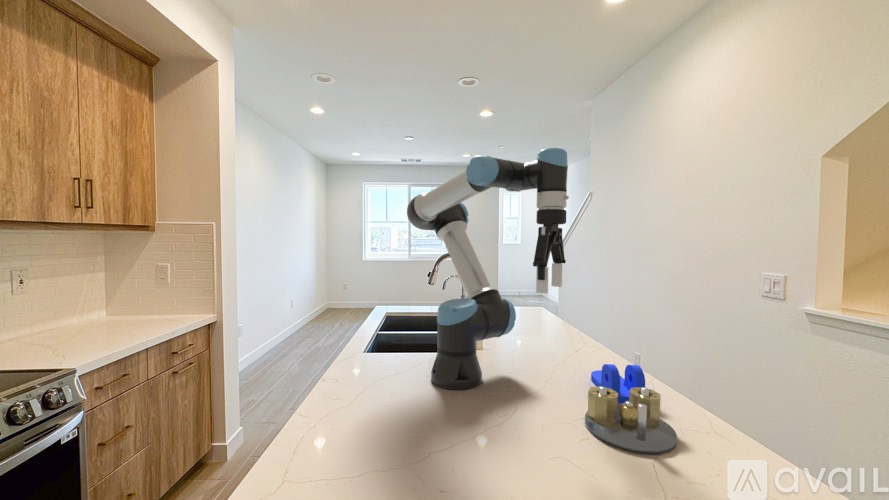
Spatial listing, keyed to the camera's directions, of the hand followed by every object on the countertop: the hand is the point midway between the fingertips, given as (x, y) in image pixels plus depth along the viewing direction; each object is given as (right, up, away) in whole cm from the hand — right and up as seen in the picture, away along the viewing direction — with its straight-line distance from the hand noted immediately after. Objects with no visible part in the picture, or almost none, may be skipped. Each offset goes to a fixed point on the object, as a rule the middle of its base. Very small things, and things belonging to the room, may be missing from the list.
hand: (549, 289), depth 94 cm
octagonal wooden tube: (+8, -28, -13) cm, 32 cm away
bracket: (+20, -29, +6) cm, 36 cm away
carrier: (+13, -29, -15) cm, 36 cm away
